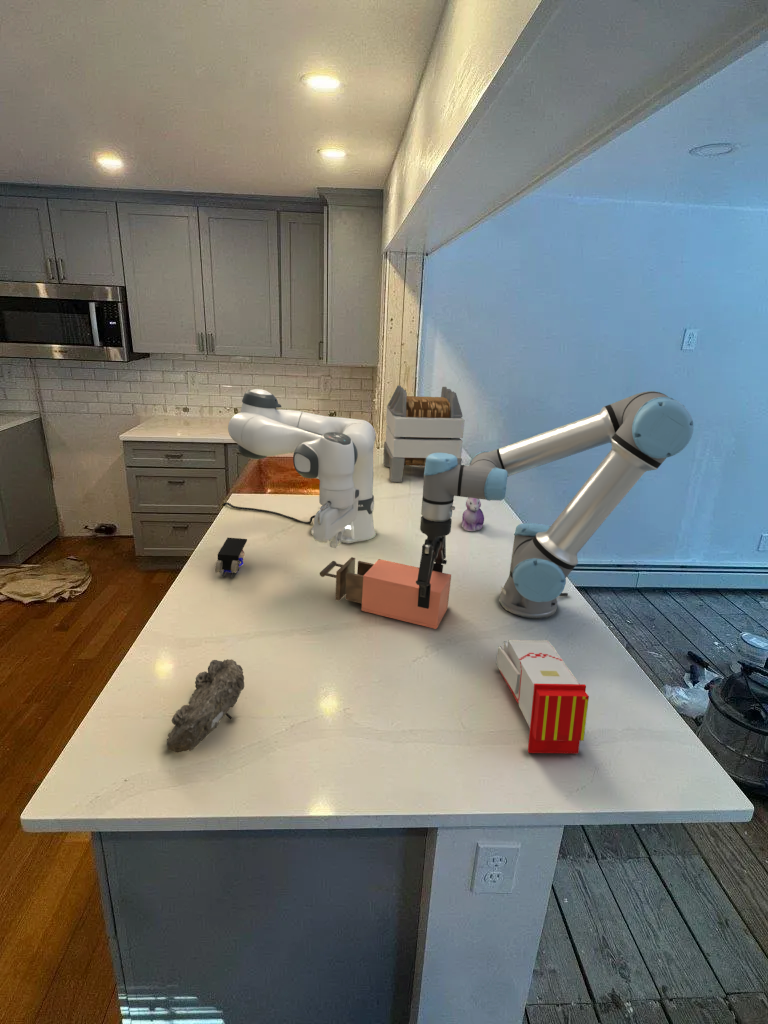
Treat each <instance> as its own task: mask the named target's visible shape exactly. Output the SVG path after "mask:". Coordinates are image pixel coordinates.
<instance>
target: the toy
mask: <svg viewBox="0 0 768 1024" xmlns="http://www.w3.org/2000/svg"><path fill="white" fill-rule="evenodd" d="M502 646H503V647H502ZM502 646H501V645H498V648H497V654H496V661H495V665H496V666H497V668H498V670H499V672H500V674H501V676H502V678H503V680H504V681H505V683H506V685H507V687H508V689H509V691H510V692H511V694H512V696H513V697H514V699H515V701H516V703H517V704H518V707H519V709H520V711H521V713H522V715H523V718H524V720H525V722H526V723H527V726H528V728H529V734H528V744H527V745H528V746H527V752H528V754H579V751H580V744H581V743H580V742H583V741H584V740H585V730H586V724H587V715H588V707H589V698H590V696H589V694H588V693H587V692H586V690H587V684H581V683H580V682H579V681H578V679H577V678H576V676H574V674H573V673H572V671H571V670H570V668H569V667H568V666H567V664H566V663H565V662H564V660H563V659H562V657H561V656H560V655H559V653H558V652H557V651H556V649H555V647H554V645H552V644H551V642H550V641H549V640H533V639H532V640H528V639H526V640H525V639H508V640H507V641H503V645H502Z"/></svg>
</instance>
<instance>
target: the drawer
mask: <svg viewBox="0 0 768 1024" xmlns="http://www.w3.org/2000/svg"><path fill="white" fill-rule="evenodd" d="M374 564H375V563H371V562H368V561H367V562H366V561H362V560H358V561H357V569H356V557H353V556H351V557H350V558H348V560H346V562H344V564H340V563H338V562H336V561H335V560H332V561H331V562H329V564H327V565H326V566H325V567H324V568H322V570H321V571H319V576H320V577H321V578H324V577H325V576H326V577H329V578H335V601H341V600H342V599H343V597H344V596H345V598H344V600H345V601H348V602H354V603H358V604H361V605H362V591H363V576H364V574H365V573H366V572H367V571H368V570H369V569H370V568H371V567H372V566H373V565H374ZM335 567H339V568H338V569H337V570H336V571H335V573H336V574H333V573H330V572H331V571H332V570H333V569H334V568H335ZM356 570H357V572H356ZM355 572H356V573H355Z"/></svg>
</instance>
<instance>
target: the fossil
mask: <svg viewBox="0 0 768 1024" xmlns="http://www.w3.org/2000/svg"><path fill="white" fill-rule="evenodd" d="M243 670H244V669H243V667H242V665H240V664H237V662H236V661H235V660H234V659H232V658H231V659H227V658H226V659H224V660H223V661H222V660H217V659H212V660H211V661H210V663H209V665H208V666H207V671H201V672H199V673H198V674H197V675H196V676H195V680H194V684H195V685H194V687H195V689H194V690H193V693H192V694H191V697H190V698H189V700H188V704H184V705H182V706H181V707H180V709H177V710H176V711H175V713H174V715H173V716H172V718H171V723H172V724H173V727H172V730H171V731H170V732H168V734H167V738H166V741H167V742H166V745H167V749H168V750H169V751H173V752H174V753H176V754H178V753H182V752H188V751H189V752H192V751H193V750H195V748H196V747H197V746H199V744H200V743H201V742H203V741H204V740H205V739H206V738H207V737H208V736H209V735H210V734H211V733H212V732H214V730H215V729H217V727H218V726H219V724H220V722H221V721H222V720H223V719H224V718H225V716H226V717H227V719H229V720H233V717H232V715H230V714H229V710H230V709H231V708H234V706H235V704H236V703H237V702H238V699H239V697H240V695H241V693H242V691H243V690H245V689H244V688H245V675H244V671H243Z"/></svg>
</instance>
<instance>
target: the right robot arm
mask: <svg viewBox="0 0 768 1024" xmlns="http://www.w3.org/2000/svg"><path fill="white" fill-rule="evenodd" d="M693 433H694V419H693V417H692V415H691V413H690V411H689V410H688V409H687V408H686V406H685V405H684V404H683V403H682V402H680V400H677V399H674V398H673V397H670V396H668V395H667V394H665V393H662V392H660V391H655V390H650V391H643V392H639V393H635V394H633V395H631V396H628V397H625V398H623V399H621V400H618V401H615V402H612V403H610V404H607V405H603V407H601V409H600V411H599V412H598V413H595V414H591V415H589V416H587V417H584V418H580V419H578V420H575V421H573V422H568V423H567V424H564V425H561V426H558V427H555V428H553V429H550V430H547V431H544V432H541V433H539V434H535V435H533V436H530V437H527V438H525V439H522V440H518V441H516V442H513V443H511V444H508V445H505V446H502V447H499V448H497V449H493V450H490V451H489V450H483V451H482V450H481V451H479V452H477V453H476V454H475V455H474V456H473V457H472V458H471V460H470V462H469V464H468V465H465V464H461V465H460V464H458V462H457V457H456V456H454V455H452V454H447V453H433V454H430V455H429V456H428V457H427V458H426V463H425V466H424V471H423V484H422V485H423V486H422V498H421V508H420V510H421V511H420V515H421V516H420V526H419V530H420V532H421V533H422V534H424V535H425V536H426V538H425V539H424V543H423V544H422V545H421V546H422V547H421V556H420V562H419V567H418V568H419V573H418V579H417V581H416V583H417V585H419V594H418V607H422V608H427V609H428V608H429V600H430V588H431V584H430V579H431V575H432V571H437V572H442V573H444V565H447V559H446V558H447V555H446V554H447V552H446V551H447V550H446V549H447V548H446V547H447V546H446V545H447V543H446V541H447V540H446V539H447V538H446V536H448V535H450V534H451V532H452V522H453V520H452V517H453V511H455V510H456V506H454V505H453V504H454V501H455V497H461V498H467V499H468V498H477V499H479V500H485V501H489V502H491V501H503V500H504V499H505V498H506V493H507V486H508V477H510V476H514V475H517V474H520V473H523V472H526V471H529V470H533V469H535V468H538V467H541V466H544V465H547V464H549V463H552V462H553V463H554V462H557V461H558V460H562V459H565V458H567V457H571V456H573V455H576V454H580V453H582V452H586V451H589V450H592V449H596V448H597V447H601V446H603V445H607V444H611V448H610V450H609V452H608V453H607V454H606V455H605V456H604V458H603V460H601V462H600V463H599V465H597V467H596V468H595V470H594V471H593V472H592V473H591V474H590V476H589V477H588V478H587V480H586V481H585V482H584V483H583V484H582V486H581V487H580V488H579V490H578V491H577V492H576V493H575V495H573V497H572V499H570V501H569V502H568V503H567V505H566V506H565V507H564V509H563V510H562V511H561V513H560V514H559V515H558V516H557V518H556V519H555V520H554V521H553V523H552V524H551V525H548V524H545V523H537V522H523V523H520V524H517V526H516V527H515V530H514V533H513V536H514V537H513V546H512V552H511V560H510V568H509V575H508V577H507V579H506V581H505V583H504V585H503V586H501V587H500V588H501V589H500V594H499V604H500V606H501V608H503V609H504V610H505V611H507V612H508V613H510V614H513V615H515V616H518V617H521V618H526V619H546V618H549V617H551V616H553V615H555V613H556V612H557V607H558V599H557V598H558V597H568V596H569V593H567V592H563V591H564V589H565V587H566V583H567V577H568V576H569V575H570V573H572V572H573V570H574V569H575V567H576V566H577V565H578V564H579V559H578V558H579V557H578V554H579V552H580V551H581V550H582V549H583V548H584V546H585V545H586V544H587V543H588V542H589V540H590V539H591V538H592V537H593V535H595V533H596V532H597V531H598V530H599V528H601V526H602V525H603V524H604V522H605V521H606V520H607V518H608V517H609V516H610V515H611V514H612V512H613V511H614V510H615V509H616V508H617V506H618V505H619V504H621V502H622V500H623V499H624V498H625V497H626V496H627V494H628V493H629V492H630V491H631V490H632V489H633V487H634V486H635V485H636V484H637V482H639V480H640V479H641V478H642V477H643V475H644V474H645V473H646V472H649V471H650V472H651V471H657V470H658V469H659V467H661V465H662V464H663V463H664V461H666V459H667V458H670V457H675V456H676V455H678V454H679V453H681V452H682V451H683V450H684V449H685V448H686V447H687V446H688V444H689V443H690V441H691V439H692V438H693Z"/></svg>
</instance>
